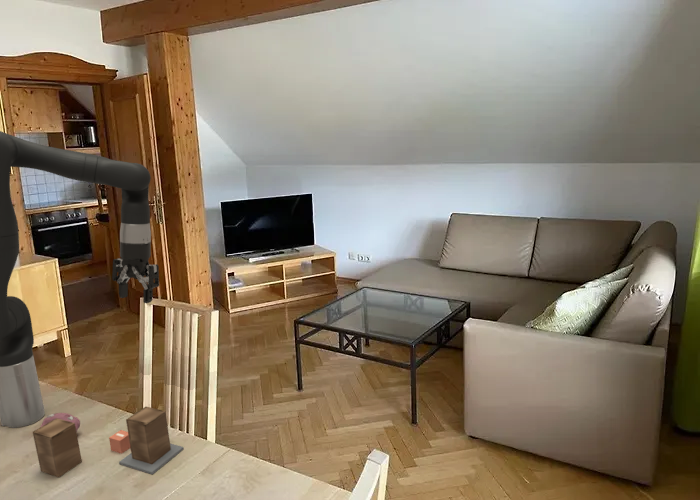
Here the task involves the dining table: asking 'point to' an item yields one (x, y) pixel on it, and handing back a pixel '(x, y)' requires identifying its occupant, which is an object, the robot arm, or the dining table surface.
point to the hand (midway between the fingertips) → (135, 300)
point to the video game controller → (64, 417)
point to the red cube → (120, 441)
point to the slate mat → (156, 465)
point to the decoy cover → (57, 447)
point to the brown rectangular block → (148, 435)
